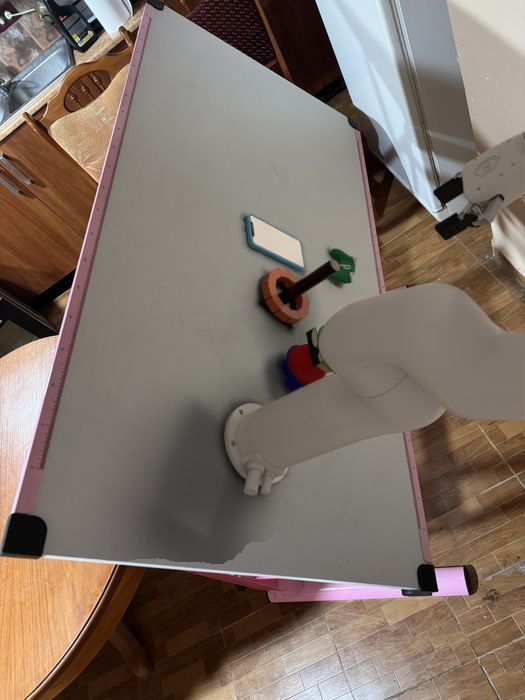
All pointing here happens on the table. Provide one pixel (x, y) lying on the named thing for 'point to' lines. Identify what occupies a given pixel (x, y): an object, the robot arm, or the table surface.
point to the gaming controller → (344, 266)
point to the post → (301, 287)
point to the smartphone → (274, 242)
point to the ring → (275, 301)
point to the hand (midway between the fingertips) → (438, 215)
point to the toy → (304, 363)
